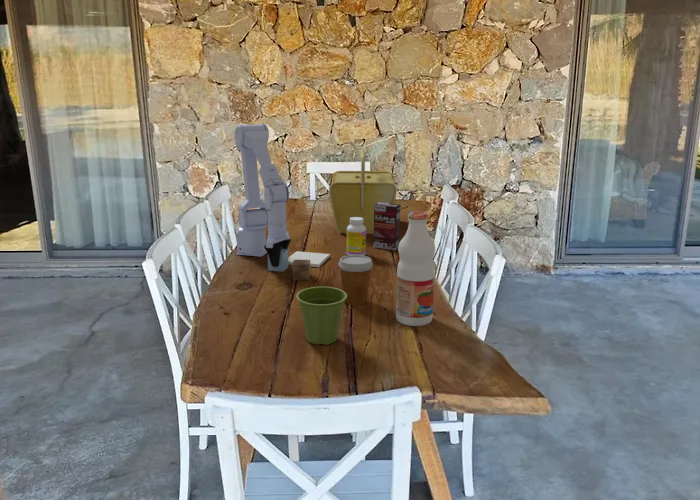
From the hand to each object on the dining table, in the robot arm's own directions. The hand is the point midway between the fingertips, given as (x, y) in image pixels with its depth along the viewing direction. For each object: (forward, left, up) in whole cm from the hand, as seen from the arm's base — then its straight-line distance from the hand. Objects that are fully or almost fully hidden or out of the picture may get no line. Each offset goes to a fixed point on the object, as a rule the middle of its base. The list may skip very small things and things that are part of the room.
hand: (278, 263), depth 201 cm
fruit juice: (+49, -30, -2) cm, 57 cm away
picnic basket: (+12, +62, -2) cm, 63 cm away
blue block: (0, 0, -2) cm, 2 cm away
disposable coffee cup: (+31, -21, -2) cm, 37 cm away
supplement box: (+28, +34, -2) cm, 44 cm away
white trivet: (+6, +11, -2) cm, 13 cm away
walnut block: (+10, -6, -2) cm, 12 cm away
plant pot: (+30, -48, -2) cm, 57 cm away
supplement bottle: (+20, +22, -2) cm, 30 cm away
